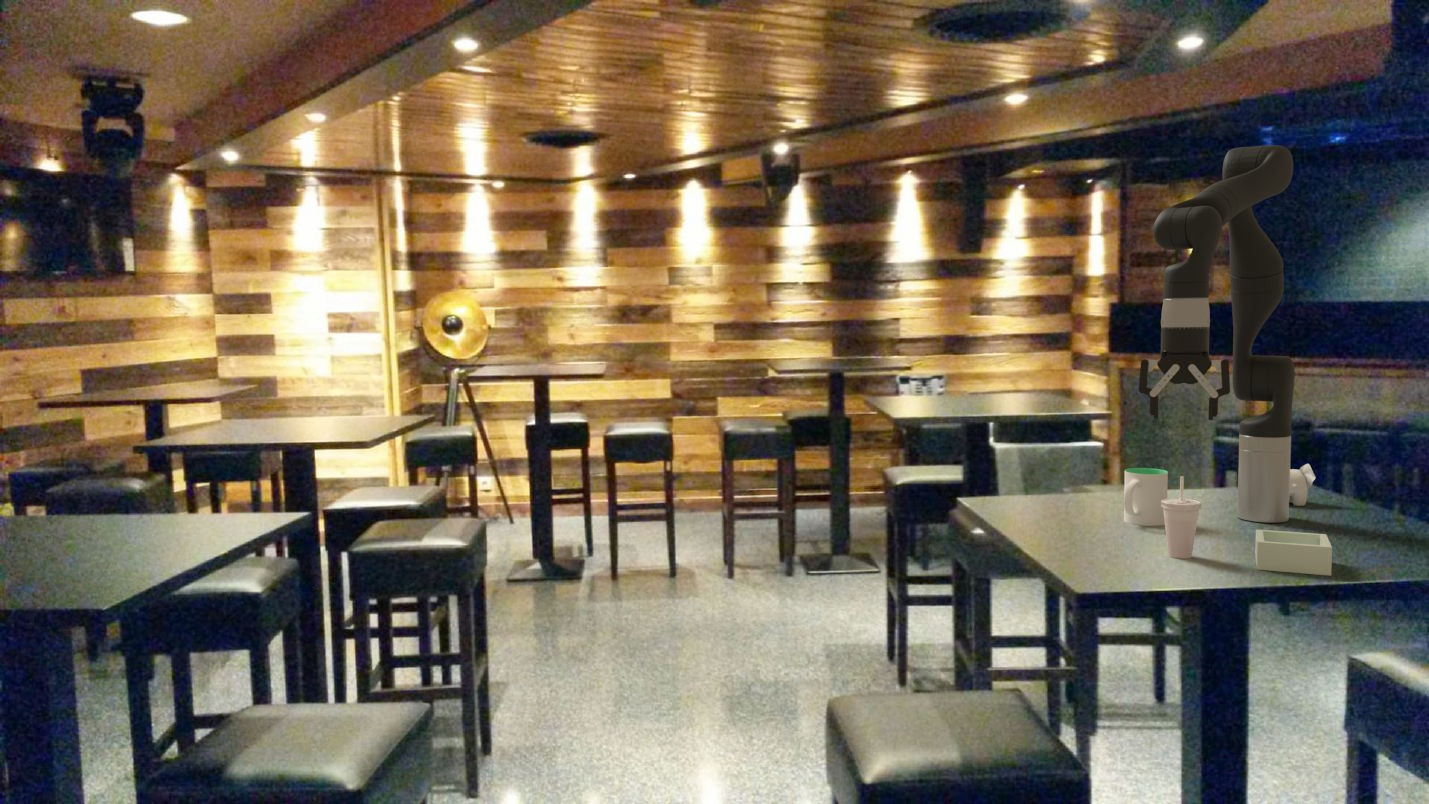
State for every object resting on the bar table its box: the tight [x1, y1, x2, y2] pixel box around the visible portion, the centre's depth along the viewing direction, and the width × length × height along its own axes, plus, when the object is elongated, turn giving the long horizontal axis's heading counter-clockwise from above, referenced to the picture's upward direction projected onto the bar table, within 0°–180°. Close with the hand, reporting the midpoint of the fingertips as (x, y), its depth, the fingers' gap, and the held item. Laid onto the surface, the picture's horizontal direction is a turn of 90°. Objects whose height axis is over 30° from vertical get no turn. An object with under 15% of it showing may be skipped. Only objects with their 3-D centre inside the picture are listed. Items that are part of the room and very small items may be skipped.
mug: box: [1123, 467, 1169, 527], centre depth 204 cm, size 12×8×10 cm, turn 136°
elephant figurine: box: [1289, 463, 1316, 507], centre depth 222 cm, size 10×12×9 cm
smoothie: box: [1161, 475, 1202, 560], centre depth 176 cm, size 6×6×14 cm
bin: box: [1254, 529, 1333, 577], centre depth 169 cm, size 10×10×5 cm
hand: (1183, 419), depth 175 cm, fingers open, 8 cm apart
